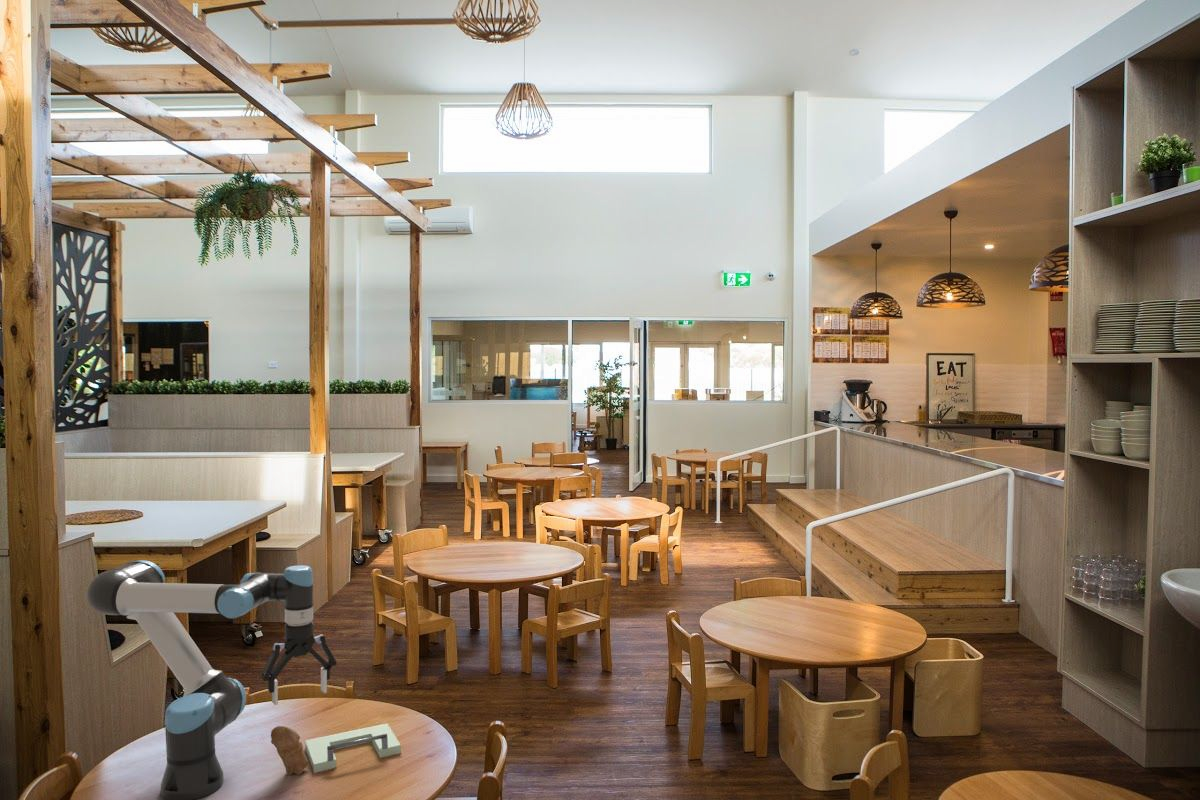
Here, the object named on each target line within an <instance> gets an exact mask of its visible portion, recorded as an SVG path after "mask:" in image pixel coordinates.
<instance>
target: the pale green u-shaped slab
mask: <svg viewBox="0 0 1200 800" xmlns="http://www.w3.org/2000/svg"><path fill="white" fill-rule="evenodd" d="M383 734H387V738H388V748H386V749H382V739H377V740H373V741H368V742H363V743H359V744H354V745H350V746H345V747H340V748H336V749H335V750H339V749H343V748H347V747H353V746H357V745H361V744H365V743H372V746H373V747H374V749H375V750H376V753H377V755H378V756H379V758H380V759H382V758H386V757H389V756H394V755H399V754H402V745H401V743H400V741H399V740H398V738H397V737H396V734H395V733H394V731H393V730H392V729H391V727H390V725H389V723H388V722H386V723H382V724H378V725H373V726H367V727H362V728H358V729H354V730H349V731H344V732H339V733H334V734H330V735H325V736H320V737H314V738H311V739H305V741H304V744H305V745H304V746H305V747H304V748H305V750H306V753H307V758H308V759H309V760H308V761H309V762H310V763H309V764H310V765H311V767H312V770H313V773H314V774H316V773H318V772H319V773H320V772H324V770H325V771H329V770H332V768H333V769H336V768H335V767H337V766H338V765H337V764H338V763H337V758H336V755H335V753H334V752H333V759H334V760H332V761H328V759H327V746H332V745H336V744H341V743H346V742H350V741H355V740H360V739H364V738H369V737H374V736H378V735H383ZM328 769H329V770H328Z"/></svg>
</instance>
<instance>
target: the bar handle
mask: <svg viewBox="0 0 1200 800" xmlns="http://www.w3.org/2000/svg"><path fill="white" fill-rule="evenodd" d="M377 739H382V749H386V748H388V738H387V734H383V735H378V736H374V737H369V738H364V739H360V740H355V741H350V742H346V743H341V744H336V745H332V746H327V759H328V761H332V760H334V759H333V753H334V750H333V749H335V750H337V749H336V748H339V749H341V748H340V747H344V748H346V747H345V746H349V747H351V746H350V745H353V746H355V745H354V744H358V745H360V744H359V743H362V744H364V743H363V742H367V743H369V742H368V741H373V740H377Z"/></svg>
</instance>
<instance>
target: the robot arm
mask: <svg viewBox="0 0 1200 800" xmlns="http://www.w3.org/2000/svg"><path fill="white" fill-rule="evenodd" d="M283 571H284V572H283V573H271V572H258V571H257V572H249V573H245V574H244V575H243V577H242V578H241V579H240V582H239V583H238V584H223V583H221V584H219V583H218V584H216V583H182V582H181V583H176V582H175V583H173V582H172V583H171V582H165V580H166V578H165V573H164V572H163V570H162V569H161V567H159V566H158V565H157V563H155V562H152V561H149V560H145V559H140V560H134V561H129V562H126V563H124V564H122V565H120V566H117V567H114V568H112V569H109V570H105V571H104V572H100V573H99V574H98V575H95V577H94V578H93V579H92V580H90V583H89V585H88V586H87V589H86V601H87V604H89V605H88V606H89V607H90V608H91V609H92V610H93V611H95V612H97V613H98V614H101V615H106V616H107V615H108V616H125V617H126V619H129V620H134V621H136V622H137V624H138V625H139V626H140V628H141V630H142V631H143V632H144V633H145V635H146V636H147V638H148V639H149V641H150V642H151V644H152V645H153V646H154V648H155V649H156V652H158V653H159V655H160V656H161V658H162V659H163V661H164V662H165V664H166V665H167V666H168V668H169V669H170V670H171V672H172V674H173V675H174V676H175V678H176V679H177V680H178V682H179V684H180V685H181V686H182V688H183V689H184V693H183V696H180V697H178V698H177V699H175V700H174V701H172V702H171V703H169V705H168V706H167V708H166V710H165V714H164V715H165V717H164V718H165V719H164V728H165V729H164V730H165V746H166V748H165V749H166V751H165V752H166V765H165V769H164V773H163V776H162V779H161V782H160V797H161V798H162V799H164V800H197V799H200V798H203V797H207V796H209V795H211V794H213V793H215V792H216V791H217V790H219V789H220V788H221V787H222V786H223V784H224V771H223V768H222V767H221V765H220V764H221V763H220V762H219V759H218V757H217V754H216V741H215V740H216V735H217V734H218V733H220V732H221V731H223V730H224V729H225V728H226V727H227V726H228V725H230V724H232V723H233V722H234V721H236V720H237V719H238V717H239V716H240V715H241V714H242V713H243V711H244V709H245V707H246V702H247V692H246V689H245V687H244V686H243V684H242V683H241V681H239V680H237V679H236V678H232V677H227V676H226V675H225V674H224V672H223V670H217V669H214V668H213V667H212V666H211V664H210V663H209V662H208V660H207V658H206V657H205V656H204V654H203V653H202V652H201V650H200V648H199V647H198V646H197V644H196V642H195V641H194V640H193V639H192V637H191V636H190V634H189V633H188V631H187V630H186V628H185V626H183V623H181V621H180V620H179V619H178V617H177V616H176V613H180V614H181V613H182V614H183V613H187V614H189V613H190V614H221V615H222V616H224V617H226V618H227V619H236V618H239V617H242V616H244V615H246V614H247V613H249V612H250V611H253V609H255V608H257V607H259V606H261V605H263V604H264V603H266V602H284V623H285V624H284V642H282V643H277V642H274V643H273V644H272V651H271V653H270V656H269V657H268V660H267V662H266V664H265V666H264V667H263V670H262V673H261V675H260V678H261V679H262V680H263V681H264V682H265V681H266V682H267V683H268V684H267V685H268V687H267V690H268V692H269V693H270V694H271V703H273V705H274V706H277V705H278V704H279V700H278V698H279V697H278V696H279V693H278V692H279V689H278V688H279V686H278V680H277V677H279V675H280V673H281V672H282V671H283V669H285V666H286V665H287V663H289V661H291V660H292V658H298V657H300V656H306V655H307V654H310V655H311V656H312V657H313V658H315V660H316V661H318V663H319V664H321V665H322V667H320V691H321V692H322V693H323V694H327V693H328V688H327V687H328V686H327V685H328V680H330V678H331V669H332V668H333V666H337V661H336V659H335V657H334V655H333V654H332V652H331V650H330V649H329V646H328V645H327V642H326V636H325V635H323V634H322V633H319V634H318V635H317V636H314V622H313V620H314V575H313V569H312V567H310V566H309V565H302V564H300V565H291V566H287V567H286V568H285V569H284V570H283ZM315 643H317V644H318V645H319V646H320V648H321V650H322V651H323V653H324V655H325V657H326V659H327V660H328V661H326V659H324V658H323V657H322V656H321V655H319V653H318V652H317V651H316V650H314V648H313V646H314V644H315ZM283 649H285V651H284V653H282V655H281V658H280V659H279V660H278V658H279V655H280V652H282V651H283ZM276 662H277V663H276Z"/></svg>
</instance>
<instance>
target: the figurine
mask: <svg viewBox="0 0 1200 800" xmlns="http://www.w3.org/2000/svg"><path fill="white" fill-rule="evenodd" d="M270 739H271V740H270V743H271V744H272V745H274V747H275V748H276V752H277V754H278V756H279V757H280V759H281V760H282V764H283V765H284V767H285V773H286V774H287V775H292V774H294V773H295V775H300V774H302V773H303V771H304V770H305V769H306V768H307V767H308V766H309V765H310V764H311V763H310V760H308V757H307V756H306V754H305V753H304V752H305V751H304V746H303V742H301V741H300V739H301V736H300V735H299V733H298V732H297V731H296V730H295V729H293V728H291V727H288V726H283V725H277V726H275V727H274V728H273V729H272V730H271V731H270Z"/></svg>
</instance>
